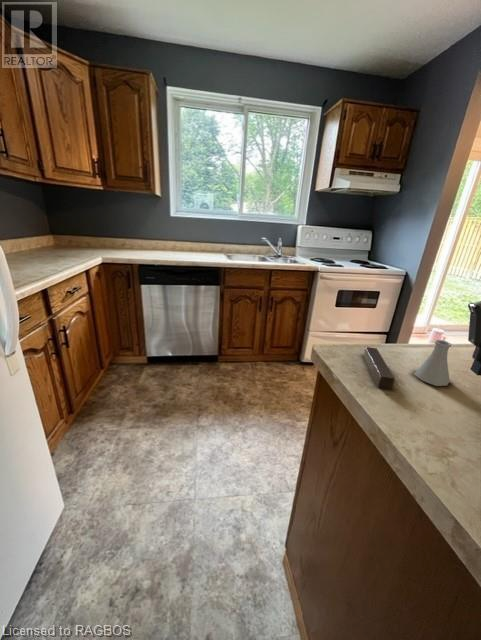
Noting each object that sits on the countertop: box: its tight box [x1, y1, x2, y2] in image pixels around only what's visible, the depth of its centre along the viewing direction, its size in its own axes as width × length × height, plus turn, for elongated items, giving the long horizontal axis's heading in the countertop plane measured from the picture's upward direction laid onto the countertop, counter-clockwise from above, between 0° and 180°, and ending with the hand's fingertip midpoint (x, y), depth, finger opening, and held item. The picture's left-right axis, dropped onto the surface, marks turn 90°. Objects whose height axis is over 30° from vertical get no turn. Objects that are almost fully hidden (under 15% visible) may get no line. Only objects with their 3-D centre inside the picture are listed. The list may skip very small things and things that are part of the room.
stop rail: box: [363, 346, 396, 390], centre depth 70 cm, size 3×16×3 cm, turn 168°
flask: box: [414, 339, 453, 387], centre depth 66 cm, size 7×7×10 cm
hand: (477, 372), depth 65 cm, fingers closed
